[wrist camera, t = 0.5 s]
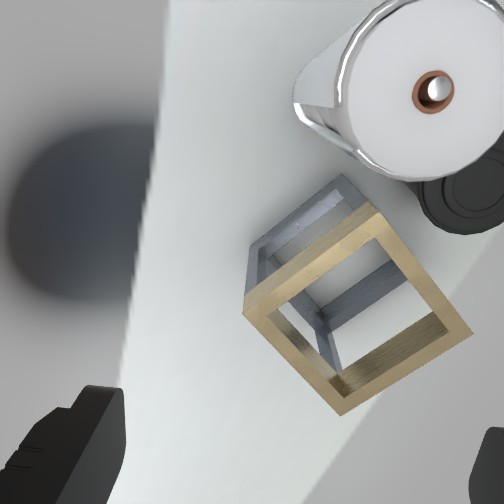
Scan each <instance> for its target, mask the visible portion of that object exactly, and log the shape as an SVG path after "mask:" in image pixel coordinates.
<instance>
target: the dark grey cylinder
mask: <svg viewBox="0 0 504 504" xmlns="http://www.w3.org/2000/svg"><path fill="white" fill-rule="evenodd" d="M404 182H405V181H404ZM405 183H406V184H407V185H408V186H409V188H410V189H411V190H412V191H413V192H414V193H415V195H416V196H417V197H418V200H419V202H420V205H421V207H422V210H423V212H424V214H425V215H426V217H427V218H428V219H429V220H430V221H431V222H432V223H433V224H434V225H435V226H437V227H439V228H441V229H442V230H444V231H446V232H448V233H454V234H461V235H469V234H476V233H482V232H484V231H487V230H489V229H491V228H494V227H496V226H498V225H500V224H501V223H503V222H504V132H503V133H502V134H501V136H500V137H499V139H498V140H497V142H496V143H495V144H494V145H493V146H492V147H491V148H490V149H489V150H488V151H487V152H485V153H484V154H483V155H482V156H481V157H480V158H479V159H478V160H477V161H475V162H474V163H472V164H470V165H469V166H467V167H465V168H463V169H462V170H460V171H458V172H457V173H455V174H452V175H449V176H445V177H442V178H439V179H436V180H432V181H419V182H405Z"/></svg>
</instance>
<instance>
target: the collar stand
mask: <svg viewBox="0 0 504 504" xmlns="http://www.w3.org/2000/svg"><path fill="white" fill-rule="evenodd" d="M343 199H345V200H346V201H347V203H348V204H349V205H350V207H351V208H352V209H353V210H354V212H353V213H351V214H350V215H349V216H347V217H346V218H345V219H343V220H342V221H341V222H340V223H338V224H337V225H336V226H334V227H333V228H332V229H330V230H329V231H328V232H326V233H325V234H324V235H322V236H321V237H320V238H319V239H317V240H316V241H315V242H313V243H312V244H311V245H309V246H308V247H307V248H305V249H304V250H303V251H301V252H300V253H299V254H298V255H296V256H295V257H294V258H292V259H291V260H290V261H288V262H287V263H286V264H284V265H283V266H282V265H281V264H280V263H279V262H278V261H277V260H276V258H275V257H274V256H273V255H272V254H274V253H275V252H276V251H277V250H279V249H280V248H281V247H283V246H284V245H285V244H286V243H288V242H289V241H290V240H292V239H293V238H294V237H295V236H297V235H298V234H299V233H301V232H302V231H303V230H304V229H306V228H307V227H308V226H310V225H311V224H312V223H313V222H315V221H316V220H317V219H319V218H320V217H321V216H322V215H324V214H325V213H326V212H328V211H329V210H330V209H331V208H333V207H334V206H335V205H337V204H338V203H339V202H340V201H342V200H343ZM374 237H375V238H376V240H377V241H378V242H379V243H380V245H381V246H382V247H383V248H384V250H385V251H386V252H387V253H388V255H389V256H390V257H391V258H392V259H391V260H390V261H388V262H387V263H386V264H384V265H383V266H381V267H380V268H379V269H377V270H376V271H374V272H373V273H371V274H370V275H369V276H367V277H366V278H364V279H363V280H362V281H360V282H359V283H357V284H356V285H355V286H353V287H352V288H350V289H349V290H347V291H346V292H345V293H343V294H342V295H340V296H339V297H338V298H336V299H335V300H333V301H332V302H331V303H329V304H328V305H326V306H325V307H323V308H322V309H320V308H319V307H318V306H317V305H316V304H315V302H314V301H313V300H312V299H311V298H310V297H309V296H308V295H307V293H306V292H305V291H304V290H303V289H304V288H306V287H307V286H309V285H310V284H311V283H313V282H314V281H315V280H317V279H318V278H319V277H321V276H322V275H324V274H325V273H326V272H328V271H329V270H330V269H332V268H333V267H334V266H336V265H337V264H339V263H340V262H341V261H343V260H344V259H345V258H347V257H348V256H349V255H351V254H352V253H354V252H355V251H356V250H358V249H359V248H360V247H362V246H363V245H364V244H366V243H367V242H369V241H370V240H371V239H373V238H374ZM407 280H409V281H410V282H411V284H412V285H413V286H414V288H415V289H416V290H417V291H418V293H419V294H420V295H421V296H422V298H423V299H424V300H425V301H426V303H427V304H428V305H429V306H430V308H431V309H432V310H433V311H432V312H431V313H429V314H428V315H426V316H425V317H423V318H422V319H420V320H419V321H417V322H416V323H414V324H413V325H411V326H410V327H408V328H406V329H405V330H403V331H402V332H400V333H399V334H397V335H396V336H394V337H393V338H391V339H390V340H388V341H387V342H385V343H383V344H382V345H380V346H379V347H377V348H376V349H374V350H373V351H371V352H370V353H368V354H367V355H365V356H364V357H362V358H360V359H359V360H357V361H356V362H354V363H353V364H351V365H350V366H348V367H347V368H345V369H344V370H342V367H341V363H340V359H339V356H338V352H337V349H336V345H335V342H334V338H333V335H332V331H334V330H335V329H337V328H338V327H340V326H341V325H343V324H344V323H345V322H347V321H348V320H350V319H351V318H353V317H354V316H356V315H357V314H359V313H360V312H361V311H363V310H364V309H366V308H367V307H369V306H370V305H372V304H373V303H375V302H376V301H377V300H379V299H380V298H382V297H383V296H385V295H386V294H388V293H389V292H391V291H392V290H394V289H395V288H396V287H398V286H399V285H401V284H402V283H404V282H405V281H407ZM287 301H289V303H290V304H291V305H292V306H293V307H294V308H295V309H296V310H297V311H298V312H299V314H300V315H301V316H302V317H303V318H304V319H305V320H306V321H307V322H308V323H309V325H310V326H311V327H312V328H313V329H314V330H315V334H316V338H317V343H318V348H319V353H320V354H319V353H318V352H317V351H316V350H315V349H314V348H313V347H312V346H311V344H310V343H309V342H308V341H307V340H306V339H305V338H304V337H303V336H302V335H301V334H300V333H299V331H298V330H297V329H296V328H295V327H294V326H293V325H292V324H291V323H290V322H289V321H288V320H287V318H286V317H285V316H284V315H283V314H282V313H281V312H280V311H279V310H278V309H277V308H279V307H280V306H281V305H283V304H284V303H285V302H287ZM242 314H243V315H244V316H245V317H246V319H247V320H248V321H249V322H250V323H251V324H252V325H253V326H254V327H255V328H256V329H257V330H258V331H259V332H260V333H261V334H262V335H263V336H264V337H265V338H266V339H267V340H268V341H269V343H270V344H271V345H272V346H273V347H274V348H275V349H276V350H277V351H278V352H279V353H280V354H281V355H282V356H283V357H284V358H285V359H286V360H287V361H288V362H289V363H290V364H291V366H292V367H293V368H294V369H295V370H296V371H297V372H298V373H299V374H300V375H301V376H302V377H303V378H304V379H305V380H306V381H307V382H308V383H309V384H310V385H311V386H312V387H313V388H314V390H315V391H316V392H317V393H318V394H319V395H320V396H321V397H322V398H323V399H324V400H325V401H326V402H327V403H328V404H329V405H330V406H331V407H332V408H333V409H334V410H335V411H336V413H337V414H338V415H339V416H340V417H341V416H342V415H344V414H345V413H347V412H349V411H350V410H352V409H353V408H355V407H357V406H358V405H360V404H361V403H363V402H365V401H366V400H368V399H370V398H371V397H373V396H374V395H376V394H378V393H379V392H381V391H382V390H384V389H386V388H387V387H389V386H391V385H392V384H394V383H395V382H397V381H399V380H400V379H402V378H403V377H405V376H407V375H408V374H410V373H411V372H413V371H415V370H416V369H418V368H420V367H421V366H423V365H424V364H426V363H427V362H429V361H431V360H432V359H434V358H436V357H437V356H439V355H441V354H442V353H444V352H445V351H447V350H449V349H450V348H452V347H453V346H455V345H457V344H458V343H460V342H462V341H463V340H465V339H466V338H468V337H470V336H471V335H473V334H474V333H473V332H472V331H471V329H470V328H469V327H468V325H467V324H466V323H465V322H464V320H463V319H462V318H461V316H460V315H459V314H458V313H457V311H456V310H455V309H454V308H453V306H452V305H451V303H450V302H449V301H448V300H447V298H446V297H445V296H444V294H443V293H442V292H441V291H440V289H439V288H438V287H437V285H436V284H435V283H434V281H433V280H432V279H431V278H430V276H429V275H428V274H427V272H426V271H425V270H424V269H423V267H422V266H421V265H420V263H419V262H418V261H417V259H416V258H415V257H414V256H413V254H412V253H411V252H410V250H409V249H408V248H407V246H406V245H405V244H404V243H403V241H402V240H401V239H400V237H399V236H398V235H397V234H396V232H395V231H394V230H393V228H392V227H391V226H390V224H389V223H388V222H387V221H386V219H385V218H384V217H383V215H382V214H381V213H380V212H379V211H378V210H377V209H376V208H375V207H374V206H373V205H372V204H371V203H370V202H369V201H368V200H367V199H366V198H365V197H364V196H363V195H362V194H361V193H360V192H359V191H358V190H357V189H356V188H355V187H354V186H353V185H352V184H351V183H350V182H349V181H348V180H347V179H346V178H345V177H344V176H343V175H342V174H340V175H339V176H338V177H337V178H335V179H334V180H333V181H332V182H330V183H329V184H328V185H327V186H325V187H324V188H323V189H322V190H320V191H319V192H318V193H317V194H315V195H314V196H313V197H312V198H310V199H309V200H308V201H307V202H305V203H304V204H303V205H302V206H300V207H299V208H298V209H297V210H295V211H294V212H293V213H292V214H290V215H289V216H288V217H287V218H285V219H284V220H283V221H281V222H280V223H279V224H278V225H276V226H275V227H274V228H273V229H271V230H270V231H269V232H268V233H266V234H265V235H264V236H263V237H261V238H260V239H259V240H258V241H256V242H255V243H254V244H253V245H251V246H250V249H249V258H248V267H247V276H246V285H245V294H244V303H243V312H242Z"/></svg>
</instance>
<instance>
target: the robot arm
mask: <svg viewBox="0 0 504 504" xmlns="http://www.w3.org/2000/svg"><path fill="white" fill-rule="evenodd" d="M125 447H126V430H125V410H124V394H123V390H122V389H121V388H113V387H103V386H93V385H87V386H85V387H84V388H83V390H82V391H81V393H80V394H79V396H78V397H77V399H76V400H75V402H74V403H73V405H72V406H71V408H60V407H57V408H56V409H54V410H53V411H52V412H50V413H49V414H48V415H46V416H45V417H44V418H42V419H41V420H40V421H38V422H37V423H36V424H35V425H34V426H33V427H32V429H31V430H30V431H29V433H28V434H27V435H26V437H25V438H24V440H23V441H22V442H21V444H20V445H19V448H18V450H16V451H15V452H14V453H13V455H12V456H11V458H10V459H9V460H8V461H7V463H6V464H5V468H4V469H2V470H1V471H0V504H106V503H107V501H108V498H109V496H110V494H111V491H112V489H113V486H114V484H115V482H116V479H117V477H118V474H119V472H120V469H121V466H122V463H123V459H124V454H125ZM469 497H470V501H471V504H504V428H501V427H490V428H489V429H488V430H487V431H486V433H485V436H484V439H483V441H482V444H481V447H480V450H479V453H478V455H477V458H476V461H475V464H474V466H473V469H472V472H471V475H470V478H469Z"/></svg>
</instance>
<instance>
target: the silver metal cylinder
mask: <svg viewBox="0 0 504 504" xmlns="http://www.w3.org/2000/svg"><path fill="white" fill-rule="evenodd" d="M293 104H294V107H295V111H296V113H297V115H298V117H299V118H300V120H301V121H302V122H303V123H304V124H305V125H306V126H307V127H309V128H310V129H311V130H313V131H314V132H316V133H317V134H319V135H320V136H322V137H323V138H325V139H326V140H328V141H329V142H331V143H332V144H334V145H335V146H336V147H338V148H339V149H341V150H342V151H344V152H345V153H347V154H348V155H350V156H351V157H353V158H354V159H356V160H357V161H359V162H360V163H361V164H363V165H364V166H366V167H367V168H369V169H371V170H373V171H375V172H377V173H379V174H381V175H383V176H384V177H387V178H391V179H396V180H401V181H405V182H419V181H432V180H436V179H439V178H442V177H445V176H449V175H452V174H455V173H457V172H458V171H460V170H462V169H463V168H465V167H467V166H469V165H470V164H472V163H474V162H475V161H477V160H478V159H479V158H480V157H481V156H482V155H483V154H484V153H485V152H487V151H488V150H489V149H490V148H491V147H492V146H493V145H494V144H495V143H496V142H497V140H498V139H499V137H500V136H501V134H502V133H503V132H504V10H503V9H502V7H501V6H500V5H499V4H498V3H497V1H495V0H386V1H384V2H383V3H381V4H380V5H378V6H377V7H376V8H374V9H373V10H372V11H370V12H369V13H368V14H367V15H366V16H364V17H363V18H362V19H361V20H360V21H358V22H357V23H356V24H355V25H354V26H352V27H351V28H350V29H349V30H348V31H346V32H345V33H344V34H343V35H342V36H340V37H339V38H338V39H337V40H336V41H334V42H333V43H332V44H331V45H330V46H328V47H327V48H326V49H325V50H324V51H322V52H321V53H320V54H319V55H318V56H316V57H315V58H314V59H313V60H312V61H310V62H309V63H308V64H307V65H306V66H305V67H304V68H303V70H302V71H301V72H300V73H299V75H298V77H297V79H296V81H295V85H294V89H293Z"/></svg>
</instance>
